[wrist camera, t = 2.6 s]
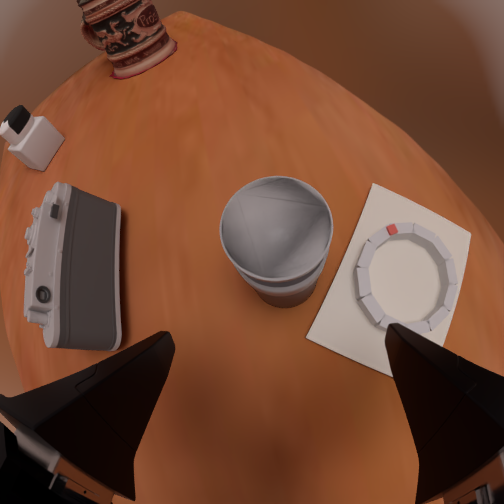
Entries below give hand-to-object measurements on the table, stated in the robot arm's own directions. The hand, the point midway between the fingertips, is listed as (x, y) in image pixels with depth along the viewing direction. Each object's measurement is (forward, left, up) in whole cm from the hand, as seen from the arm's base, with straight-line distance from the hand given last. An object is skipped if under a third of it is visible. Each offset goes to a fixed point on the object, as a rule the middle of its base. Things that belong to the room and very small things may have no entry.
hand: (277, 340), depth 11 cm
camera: (-4, +20, -13) cm, 24 cm away
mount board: (+9, -7, -13) cm, 17 cm away
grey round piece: (+5, +3, -13) cm, 14 cm away
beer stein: (+33, +48, -13) cm, 60 cm away
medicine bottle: (+6, +50, -13) cm, 52 cm away
